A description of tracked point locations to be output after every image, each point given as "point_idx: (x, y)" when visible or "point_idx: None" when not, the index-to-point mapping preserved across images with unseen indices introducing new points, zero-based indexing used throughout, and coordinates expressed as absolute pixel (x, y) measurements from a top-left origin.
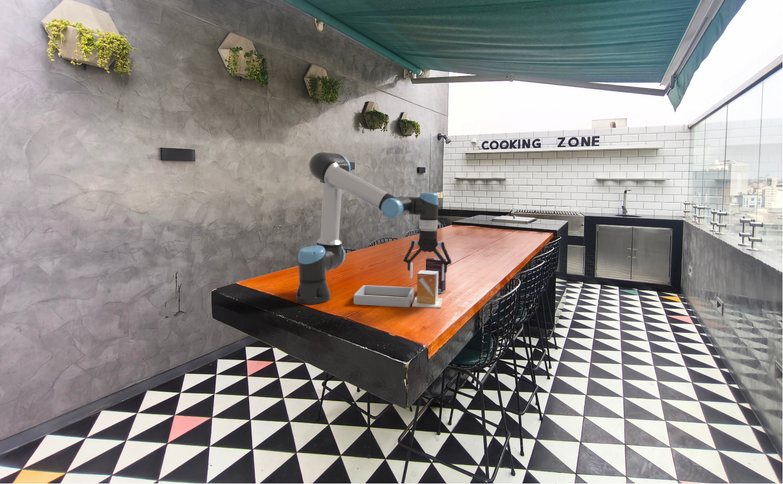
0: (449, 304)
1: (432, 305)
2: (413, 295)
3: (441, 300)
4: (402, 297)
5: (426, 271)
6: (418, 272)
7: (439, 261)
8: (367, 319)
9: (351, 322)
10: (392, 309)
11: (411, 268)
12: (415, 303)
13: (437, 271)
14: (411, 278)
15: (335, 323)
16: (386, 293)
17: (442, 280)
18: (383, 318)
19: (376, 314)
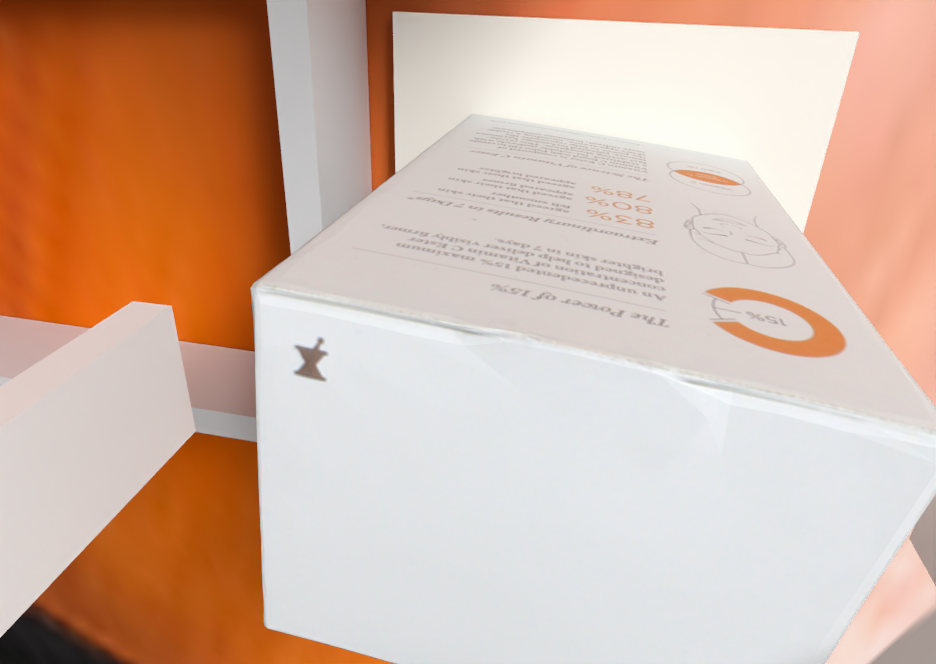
0: (906, 281)
1: None
2: (351, 9)
3: (809, 176)
4: (256, 438)
5: (483, 489)
6: (266, 565)
7: None
8: (143, 620)
9: (77, 650)
10: (237, 446)
11: (4, 622)
12: None
13: (915, 485)
14: (191, 433)
15: (4, 653)
16: None
17: (932, 543)
18: (238, 615)
19: (158, 544)
